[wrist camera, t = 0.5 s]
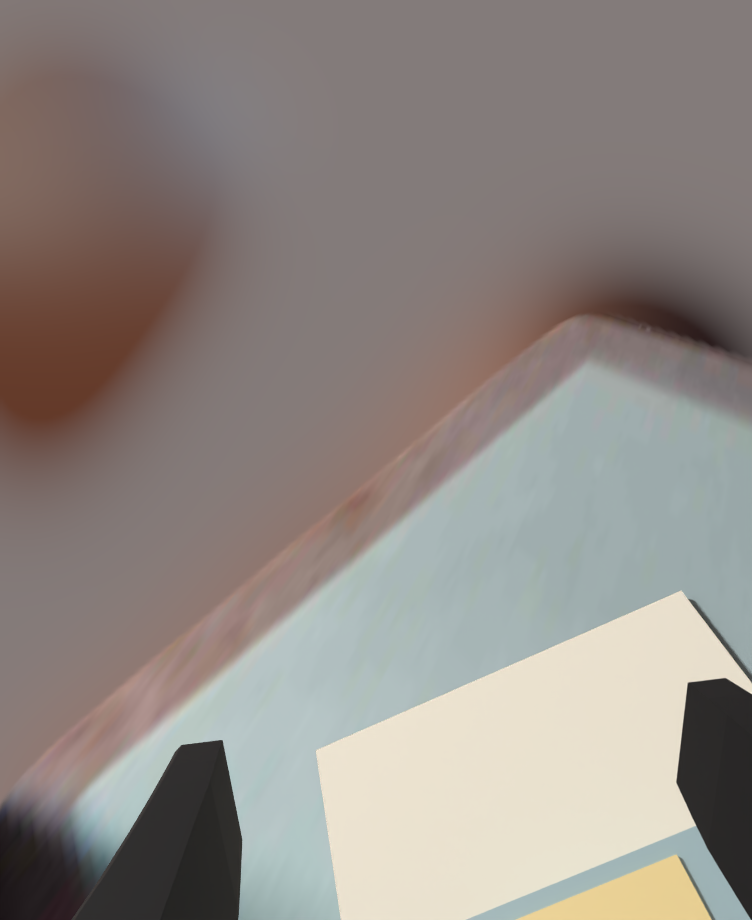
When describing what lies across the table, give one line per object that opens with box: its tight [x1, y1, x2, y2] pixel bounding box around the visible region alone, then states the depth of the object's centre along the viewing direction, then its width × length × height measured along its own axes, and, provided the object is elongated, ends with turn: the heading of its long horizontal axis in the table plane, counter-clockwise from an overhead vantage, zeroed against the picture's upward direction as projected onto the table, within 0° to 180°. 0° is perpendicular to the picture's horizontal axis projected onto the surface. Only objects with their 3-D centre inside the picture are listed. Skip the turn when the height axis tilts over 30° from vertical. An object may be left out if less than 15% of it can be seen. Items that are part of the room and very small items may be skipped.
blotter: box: [316, 591, 752, 920], centre depth 27 cm, size 10×18×1 cm, turn 102°
